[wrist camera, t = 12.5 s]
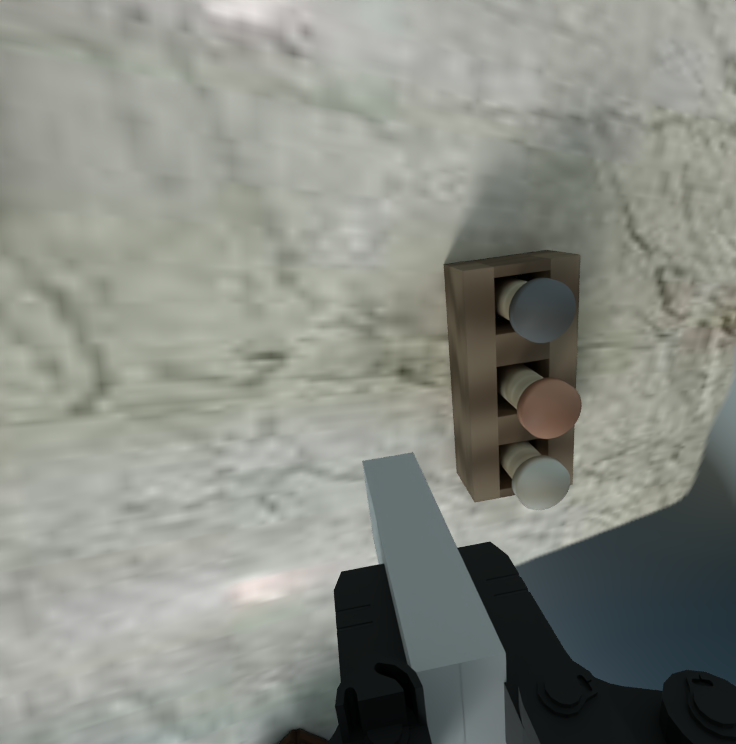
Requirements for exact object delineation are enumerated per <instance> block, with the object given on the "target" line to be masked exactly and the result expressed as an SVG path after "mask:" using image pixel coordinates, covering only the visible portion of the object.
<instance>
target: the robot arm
mask: <svg viewBox="0 0 736 744" xmlns="http://www.w3.org/2000/svg"><path fill="white" fill-rule="evenodd" d="M362 462H363V469H364V476H365V483H366V490H367V498H368V505H369V512H370V519H371V526H372V533H373V540H374V544H375V549H376V554H377V558H378V563H379V565H374V566H368V567H363V568H358V569H353V570H348V571H342V572H341V574H340V576H339V579H338V581H337V584H336V586H335V589H334V600H335V612H336V625H337V638H338V651H339V663H340V676H341V683H340V685H339V687H338V689H337V696H336V703H335V708H336V713H337V718H338V723H339V725H338V727H337V729H336V731H335V733H334V735H333V736H332V738H331V739H330V741H329V742H328V743H327V744H736V686H734V685H733V684H731V683H730V682H728V681H726V680H725V679H722V678H720V677H717V676H714V675H712V674H709V673H707V672H701V671H692V670H685V671H681V672H677V673H674V674H672V675H671V676H670V677H669V678H668V679H667V680H666V681H665V683H664V685H663V691H659V690H650V689H642V688H632V687H624V686H619V685H614V684H610V683H607V682H605V681H602V680H600V679H597V678H595V677H594V676H593V675H592V674H591V673H590V672H589V671H588V670H586V669H585V668H583V667H582V666H580V665H579V664H577V663H576V662H574V661H572V659H571V658H570V656H569V655H568V654H567V653H566V651H565V650H564V648H563V646H562V645H561V643H560V641H559V640H558V638H557V636H556V635H555V633H554V631H553V630H552V628H551V626H550V625H549V623H548V621H547V620H546V618H545V617H544V615H543V613H542V612H541V610H540V608H539V606H538V605H537V603H536V601H535V600H534V598H533V596H532V595H531V593H530V592H528V588H527V586H526V585H525V583H524V581H523V580H522V578H521V577H519V573H518V571H517V570H516V568H515V566H514V565H513V563H512V561H511V560H510V558H509V556H508V555H507V554H505V553H504V552H503V551H502V550H500V549H499V548H498V547H496V546H495V545H494V544H493V543H491V542H485V543H480V544H475V545H470V546H465V547H459V548H457V546H456V544H455V542H454V540H453V538H452V536H451V533H450V531H449V529H448V527H447V525H446V523H445V520H444V518H443V516H442V514H441V512H440V510H439V507H438V505H437V503H436V501H435V499H434V497H433V494H432V492H431V490H430V488H429V486H428V484H427V481H426V479H425V477H424V475H423V473H422V471H421V468H420V466H419V464H418V462H417V460H416V458H415V455H414V453H413V452H412V453H407V454H401V455H395V456H389V457H383V458H378V459H372V460H366V461H362Z"/></svg>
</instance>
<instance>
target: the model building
mask: <svg viewBox="0 0 736 744" xmlns="http://www.w3.org/2000/svg"><path fill="white" fill-rule="evenodd" d="M328 742H329V741H327V740H325V739H322V738H320V737H318V736H315V735H313V734H311V733H308V732H306V731H304V730H301V729H297V731H295V730H292V731H291V732H290V733H289V734H288V735H287V736H286V737H285V738H284V739H283V740H282V741H281V742H280V743H279V744H327V743H328Z"/></svg>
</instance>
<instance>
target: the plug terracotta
mask: <svg viewBox="0 0 736 744" xmlns="http://www.w3.org/2000/svg"><path fill="white" fill-rule="evenodd" d="M496 368H497V392H498V393H499V394H500V395H501V396H503V397H504V398H505V399H506V400H507V401H508V402H509V403H510V404H511V405H512V406H514V407H515V408H516V409H517V416H518V419H519V421H520V423H521V424H522V426H523V427H524V428H525V429H527V430H528V431H529V432H530V433H531V434H532V435H534V436H536V437H538V438H543V439H551V438H556V437H558V436H561V435H563V434H564V433H566V432H567V431H568V430H570V429H571V428H572V427H573V425H574V424H575V423H576V421H577V420H578V418H579V415H580V412H581V399H580V396H579V394H578V392H577V391H576V389H575V388H574V387H572V386H571V385H569V384H568V383H566V382H564V381H563V380H561V379H558V378H553V377H548V378H543V377H542V376H540V375H539V374H537V373H536V372H534V371H533V370H531V369H530V368H528V367H527V366H525V365H524V364H523V363H518V364H512V365H506V366H499V367H496Z"/></svg>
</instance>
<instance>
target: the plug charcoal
mask: <svg viewBox="0 0 736 744" xmlns="http://www.w3.org/2000/svg"><path fill="white" fill-rule="evenodd" d="M494 294H495V313H496V314H498V315H499V316H501V317H503V318H505V319H507V320H509V321H510V323H511V326H512V327H513V329H514V330H515V332H516V333H517V334H519V335H520V336H522V337H524V338H526V339H527V340H529V341H532V342H536V343H546V342H550V341H553V340H555V339H557V338H558V337H560V336H561V335H562V334H563V333H564V332H565V331H566V330H567V329H568V328H569V326H570V325H571V323H572V321H573V318H574V316H575V310H576V303H575V298H574V295H573V293H572V291H571V290H570V288H569V287H568V286H567V285H565V284H564V283H562V282H560V281H557V280H553V279H549V278H536V279H533V280H530V281H528V282H527V281H524V280H521V279H517V278H514V277H510V276H504V277H497V278H494Z"/></svg>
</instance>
